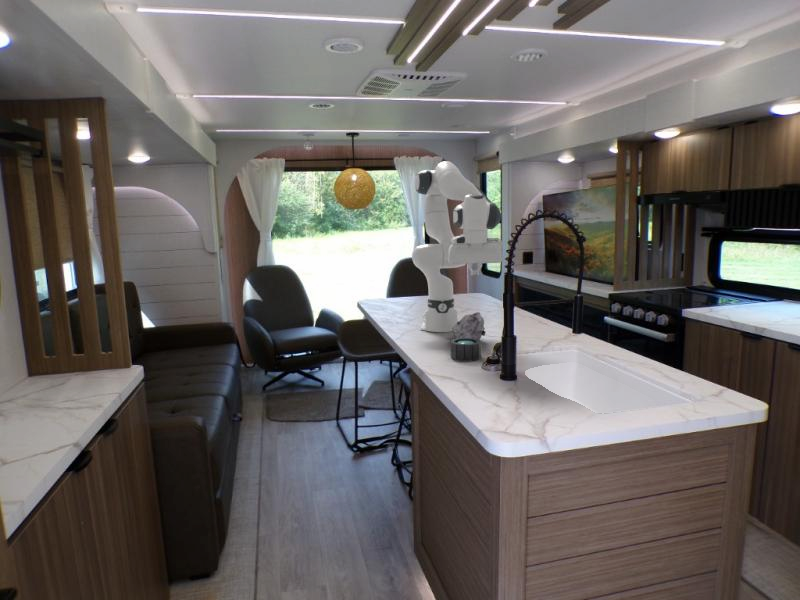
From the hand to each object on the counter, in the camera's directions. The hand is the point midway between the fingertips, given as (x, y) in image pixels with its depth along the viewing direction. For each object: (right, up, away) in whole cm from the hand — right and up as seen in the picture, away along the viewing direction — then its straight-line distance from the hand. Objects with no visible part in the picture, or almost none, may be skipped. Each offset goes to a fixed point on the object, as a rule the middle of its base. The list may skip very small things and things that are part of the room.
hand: (474, 275), depth 202 cm
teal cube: (-4, -30, -5) cm, 30 cm away
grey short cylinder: (-4, -30, -5) cm, 31 cm away
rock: (-1, -27, +19) cm, 33 cm away
